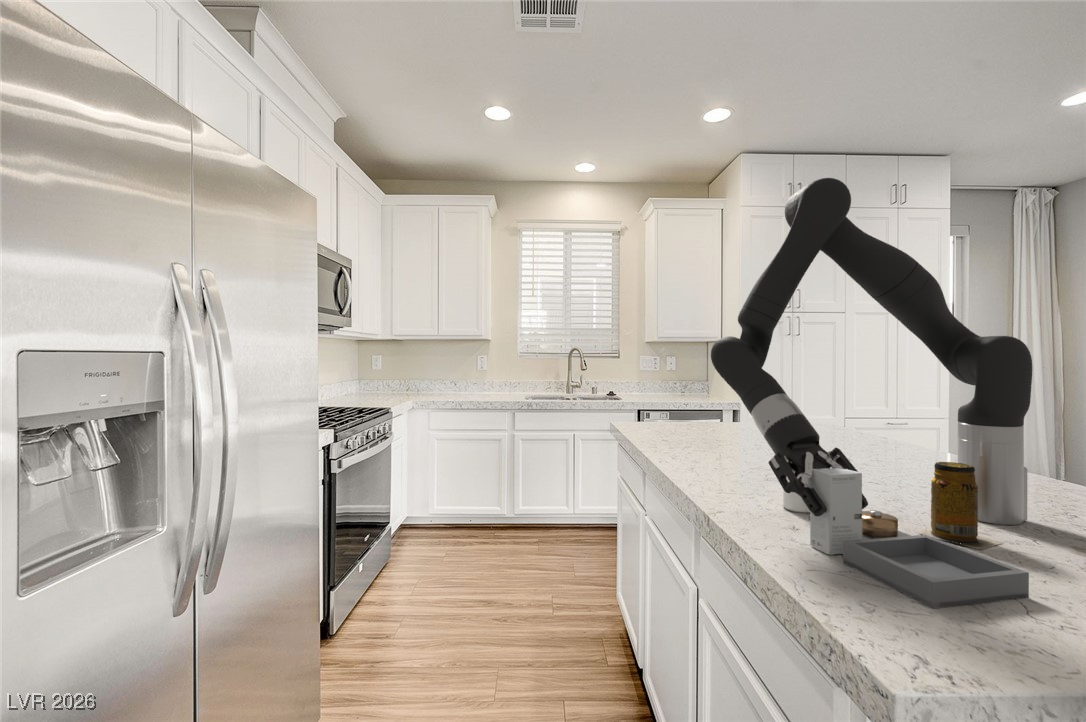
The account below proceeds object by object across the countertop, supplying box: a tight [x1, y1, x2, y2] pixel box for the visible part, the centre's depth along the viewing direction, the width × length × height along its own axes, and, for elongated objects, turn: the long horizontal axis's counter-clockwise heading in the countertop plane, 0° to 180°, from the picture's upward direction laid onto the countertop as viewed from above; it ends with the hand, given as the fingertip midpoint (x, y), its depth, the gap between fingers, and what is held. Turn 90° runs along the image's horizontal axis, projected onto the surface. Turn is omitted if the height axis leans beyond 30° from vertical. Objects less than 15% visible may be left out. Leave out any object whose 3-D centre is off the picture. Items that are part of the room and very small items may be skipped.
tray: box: [842, 534, 1030, 609], centre depth 70 cm, size 14×14×3 cm
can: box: [781, 477, 810, 514], centre depth 102 cm, size 6×6×12 cm
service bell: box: [862, 509, 912, 540], centre depth 86 cm, size 8×8×4 cm
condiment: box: [919, 461, 1003, 550], centre depth 85 cm, size 7×8×12 cm
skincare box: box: [809, 467, 863, 556], centre depth 81 cm, size 6×4×12 cm
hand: (843, 510), depth 80 cm, fingers open, 8 cm apart
